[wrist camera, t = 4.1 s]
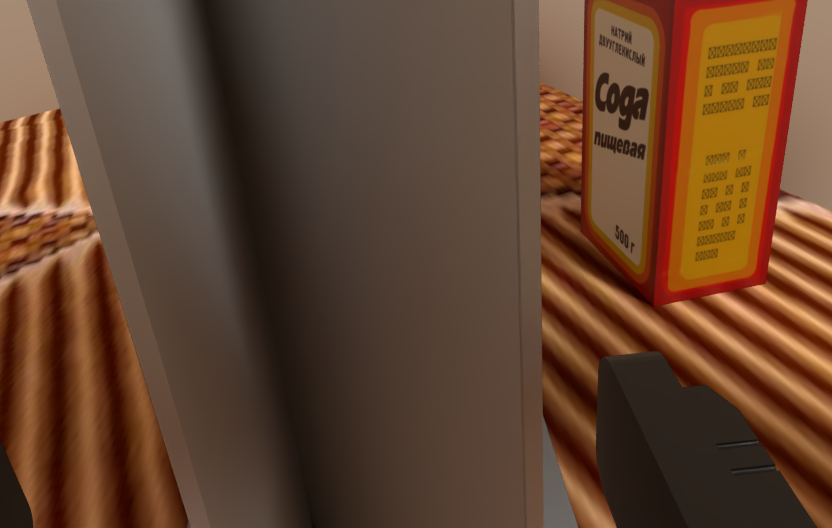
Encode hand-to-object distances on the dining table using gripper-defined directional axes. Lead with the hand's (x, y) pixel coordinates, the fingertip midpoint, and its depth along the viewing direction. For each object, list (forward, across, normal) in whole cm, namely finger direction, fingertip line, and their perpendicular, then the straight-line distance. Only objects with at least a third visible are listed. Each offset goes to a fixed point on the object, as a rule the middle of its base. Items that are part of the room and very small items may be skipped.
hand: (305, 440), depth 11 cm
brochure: (+8, 0, +16) cm, 18 cm away
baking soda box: (+32, -17, +16) cm, 39 cm away
